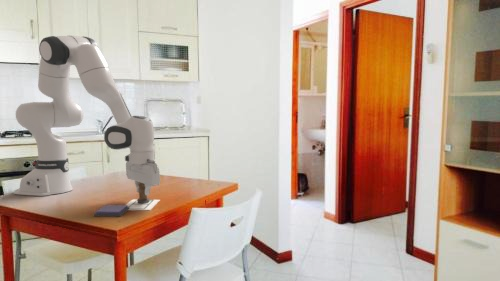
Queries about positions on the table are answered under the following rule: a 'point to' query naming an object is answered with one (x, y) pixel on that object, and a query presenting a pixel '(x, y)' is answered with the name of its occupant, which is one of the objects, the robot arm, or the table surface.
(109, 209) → the inkpad
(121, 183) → the table surface
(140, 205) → the sheet
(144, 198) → the stamp
